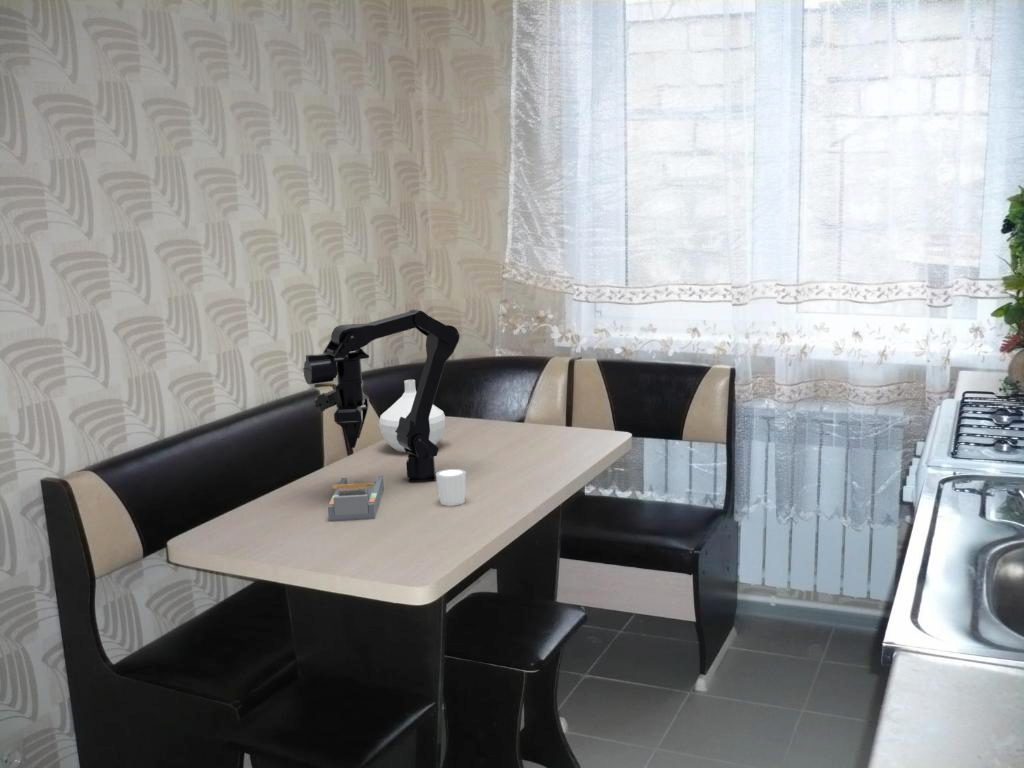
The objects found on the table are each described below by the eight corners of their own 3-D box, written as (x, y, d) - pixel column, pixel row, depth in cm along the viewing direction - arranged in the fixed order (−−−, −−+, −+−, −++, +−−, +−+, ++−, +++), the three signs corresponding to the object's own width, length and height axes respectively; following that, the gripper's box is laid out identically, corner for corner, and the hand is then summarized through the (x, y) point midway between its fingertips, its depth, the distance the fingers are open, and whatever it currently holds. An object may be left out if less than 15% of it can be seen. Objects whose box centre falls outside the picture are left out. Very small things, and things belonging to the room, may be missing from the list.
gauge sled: (376, 501, 241) (374, 480, 240) (373, 507, 236) (372, 486, 235) (335, 503, 241) (333, 482, 240) (332, 510, 236) (330, 488, 235)
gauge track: (384, 488, 256) (382, 467, 255) (374, 518, 233) (372, 495, 232) (342, 490, 256) (340, 470, 255) (329, 520, 233) (327, 498, 232)
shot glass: (472, 498, 245) (470, 469, 243) (461, 507, 238) (459, 477, 237) (444, 496, 247) (442, 467, 246) (433, 505, 241) (431, 476, 239)
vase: (460, 443, 296) (456, 376, 292) (420, 459, 281) (415, 389, 277) (408, 437, 306) (403, 372, 302) (367, 453, 291) (362, 384, 287)
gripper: (321, 373, 259) (326, 435, 262) (309, 388, 240) (315, 454, 243) (366, 371, 259) (371, 433, 262) (358, 385, 240) (363, 452, 243)
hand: (354, 442), depth 253 cm, fingers open, 9 cm apart
